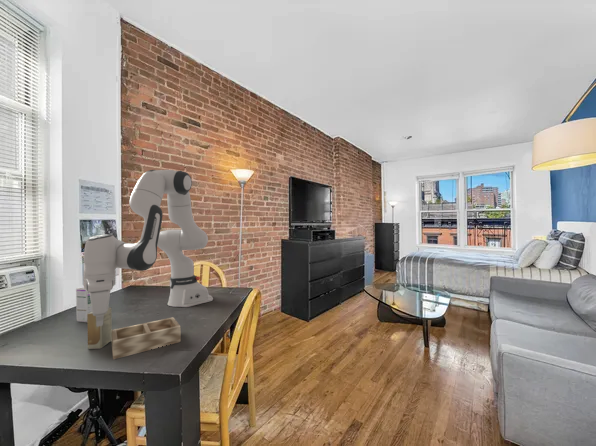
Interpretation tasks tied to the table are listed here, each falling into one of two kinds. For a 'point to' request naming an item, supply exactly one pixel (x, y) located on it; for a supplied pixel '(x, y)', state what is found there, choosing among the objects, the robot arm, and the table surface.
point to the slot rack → (145, 337)
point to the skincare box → (99, 330)
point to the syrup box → (82, 304)
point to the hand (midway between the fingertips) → (99, 321)
